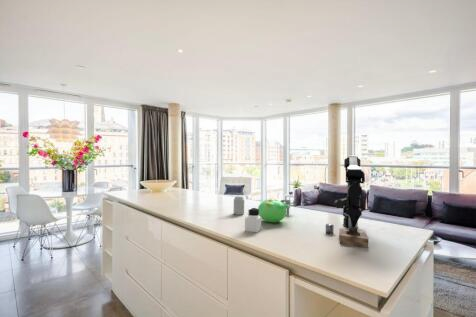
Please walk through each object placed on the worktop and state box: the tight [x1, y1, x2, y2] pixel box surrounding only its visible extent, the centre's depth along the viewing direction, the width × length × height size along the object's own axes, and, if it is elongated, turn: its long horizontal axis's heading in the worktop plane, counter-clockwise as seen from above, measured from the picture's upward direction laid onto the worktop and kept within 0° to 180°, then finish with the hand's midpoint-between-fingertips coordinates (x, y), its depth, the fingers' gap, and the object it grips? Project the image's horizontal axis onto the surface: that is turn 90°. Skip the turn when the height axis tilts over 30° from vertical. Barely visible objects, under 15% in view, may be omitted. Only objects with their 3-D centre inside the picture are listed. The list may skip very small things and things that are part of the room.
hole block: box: [338, 228, 369, 248], centre depth 118 cm, size 12×12×4 cm
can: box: [233, 196, 245, 216], centre depth 170 cm, size 8×8×12 cm
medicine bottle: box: [244, 207, 262, 233], centre depth 133 cm, size 7×7×12 cm
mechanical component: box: [280, 199, 296, 215], centre depth 172 cm, size 3×10×10 cm, turn 78°
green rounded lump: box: [257, 197, 291, 223], centre depth 151 cm, size 18×17×15 cm
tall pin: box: [348, 216, 359, 233], centre depth 118 cm, size 4×4×8 cm
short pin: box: [325, 223, 335, 235], centre depth 130 cm, size 4×4×4 cm
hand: (353, 226), depth 118 cm, fingers closed on tall pin, 4 cm apart
